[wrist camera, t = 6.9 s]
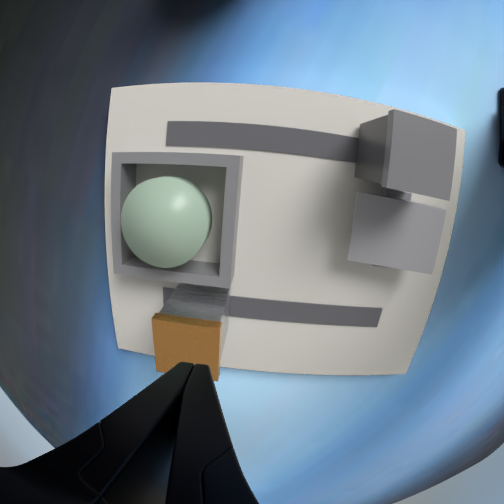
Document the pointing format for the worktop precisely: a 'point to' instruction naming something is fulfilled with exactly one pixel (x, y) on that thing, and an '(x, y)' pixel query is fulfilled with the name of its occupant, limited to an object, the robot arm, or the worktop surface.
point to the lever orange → (192, 327)
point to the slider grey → (407, 154)
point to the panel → (268, 226)
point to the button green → (166, 221)
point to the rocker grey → (395, 233)
